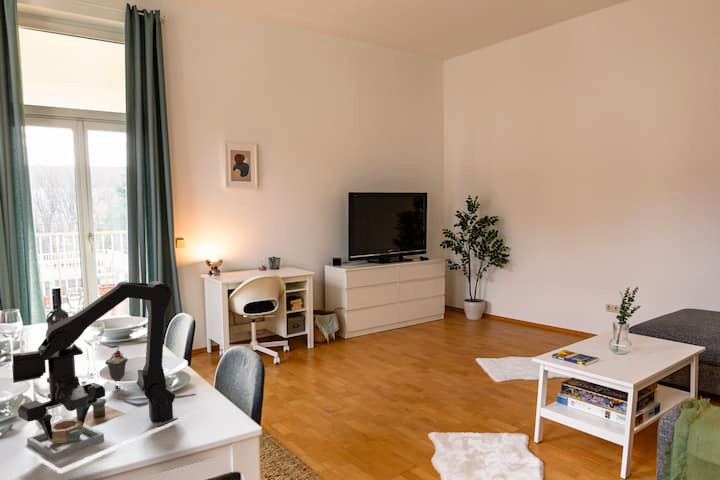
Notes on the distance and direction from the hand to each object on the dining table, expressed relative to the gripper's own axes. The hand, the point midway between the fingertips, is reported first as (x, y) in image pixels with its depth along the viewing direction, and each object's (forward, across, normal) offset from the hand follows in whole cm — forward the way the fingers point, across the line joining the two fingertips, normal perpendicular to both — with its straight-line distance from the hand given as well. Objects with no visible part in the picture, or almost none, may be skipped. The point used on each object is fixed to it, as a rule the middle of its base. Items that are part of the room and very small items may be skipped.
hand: (65, 433), depth 127 cm
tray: (+3, 0, 0) cm, 3 cm away
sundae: (+3, +28, +24) cm, 37 cm away
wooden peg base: (+3, +13, +8) cm, 16 cm away
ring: (+1, 0, 0) cm, 1 cm away
